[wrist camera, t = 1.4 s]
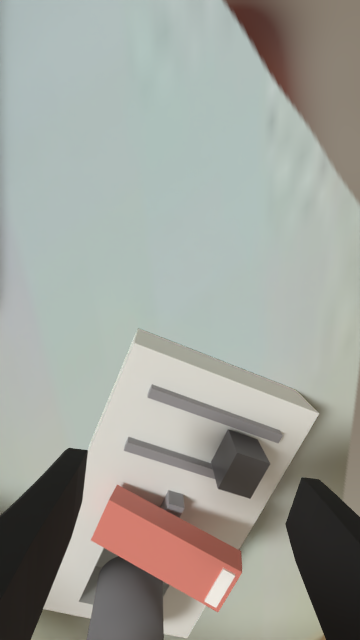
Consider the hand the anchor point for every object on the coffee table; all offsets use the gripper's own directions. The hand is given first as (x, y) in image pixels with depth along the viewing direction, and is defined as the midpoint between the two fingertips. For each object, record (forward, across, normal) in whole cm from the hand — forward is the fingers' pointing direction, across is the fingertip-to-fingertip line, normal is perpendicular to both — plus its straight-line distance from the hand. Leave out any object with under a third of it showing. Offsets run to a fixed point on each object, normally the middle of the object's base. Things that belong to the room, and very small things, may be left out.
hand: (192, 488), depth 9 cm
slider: (+7, -4, +4) cm, 8 cm away
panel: (+10, 0, +9) cm, 13 cm away
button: (+7, +1, +15) cm, 16 cm away
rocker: (+5, 0, +9) cm, 10 cm away
